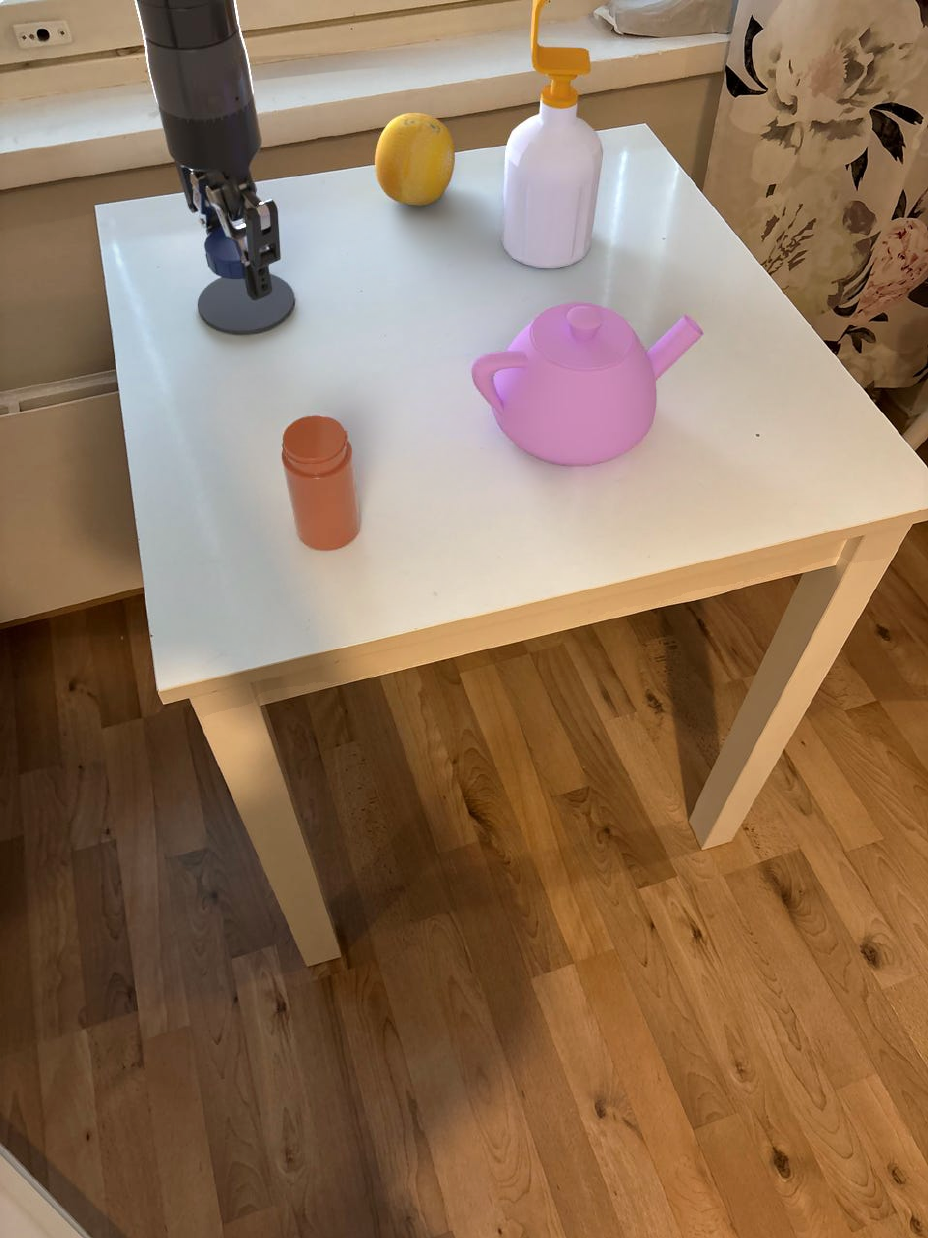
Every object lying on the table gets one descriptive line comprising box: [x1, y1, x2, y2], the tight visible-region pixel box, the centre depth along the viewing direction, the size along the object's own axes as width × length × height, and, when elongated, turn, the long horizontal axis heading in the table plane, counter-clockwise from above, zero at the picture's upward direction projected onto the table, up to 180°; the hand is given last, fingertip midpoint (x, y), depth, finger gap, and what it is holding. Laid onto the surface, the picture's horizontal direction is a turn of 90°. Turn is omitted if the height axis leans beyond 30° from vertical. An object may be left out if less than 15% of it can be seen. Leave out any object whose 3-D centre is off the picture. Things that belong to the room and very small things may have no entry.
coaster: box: [197, 273, 296, 336], centre depth 90 cm, size 9×9×1 cm
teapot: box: [470, 302, 705, 467], centre depth 77 cm, size 14×20×11 cm
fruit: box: [374, 112, 456, 207], centre depth 97 cm, size 9×8×8 cm
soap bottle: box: [500, 0, 604, 269], centre depth 86 cm, size 9×9×25 cm
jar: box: [281, 414, 361, 552], centre depth 70 cm, size 5×5×10 cm
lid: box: [203, 223, 270, 279], centre depth 85 cm, size 6×6×2 cm
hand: (242, 277), depth 87 cm, fingers closed on lid, 5 cm apart
